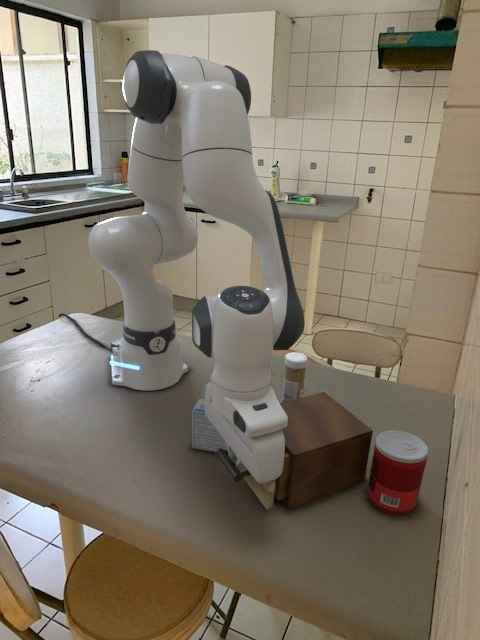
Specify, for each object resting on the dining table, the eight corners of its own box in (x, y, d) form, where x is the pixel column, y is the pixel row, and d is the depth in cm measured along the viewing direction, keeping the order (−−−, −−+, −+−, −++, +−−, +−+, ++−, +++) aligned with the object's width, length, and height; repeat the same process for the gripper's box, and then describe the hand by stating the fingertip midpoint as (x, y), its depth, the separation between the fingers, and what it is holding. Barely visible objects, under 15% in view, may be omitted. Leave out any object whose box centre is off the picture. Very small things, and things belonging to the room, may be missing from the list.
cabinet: (289, 509, 74) (294, 455, 70) (249, 458, 85) (252, 409, 81) (364, 481, 81) (373, 430, 77) (318, 437, 92) (324, 391, 88)
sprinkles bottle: (306, 413, 100) (312, 358, 95) (289, 419, 98) (295, 362, 93) (292, 403, 104) (297, 349, 99) (276, 409, 101) (280, 354, 96)
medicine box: (237, 442, 90) (239, 403, 87) (232, 456, 86) (233, 416, 83) (198, 435, 91) (199, 397, 88) (191, 449, 87) (191, 409, 84)
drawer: (240, 519, 71) (243, 473, 67) (208, 469, 81) (209, 427, 78) (340, 483, 79) (346, 440, 76) (299, 442, 89) (303, 402, 86)
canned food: (426, 510, 75) (439, 455, 71) (383, 520, 73) (394, 463, 69) (398, 479, 82) (409, 426, 78) (358, 486, 80) (367, 433, 75)
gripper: (195, 368, 77) (195, 437, 82) (255, 435, 60) (250, 517, 66) (229, 361, 80) (227, 429, 85) (295, 424, 63) (287, 503, 68)
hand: (237, 468), depth 75 cm, fingers closed
